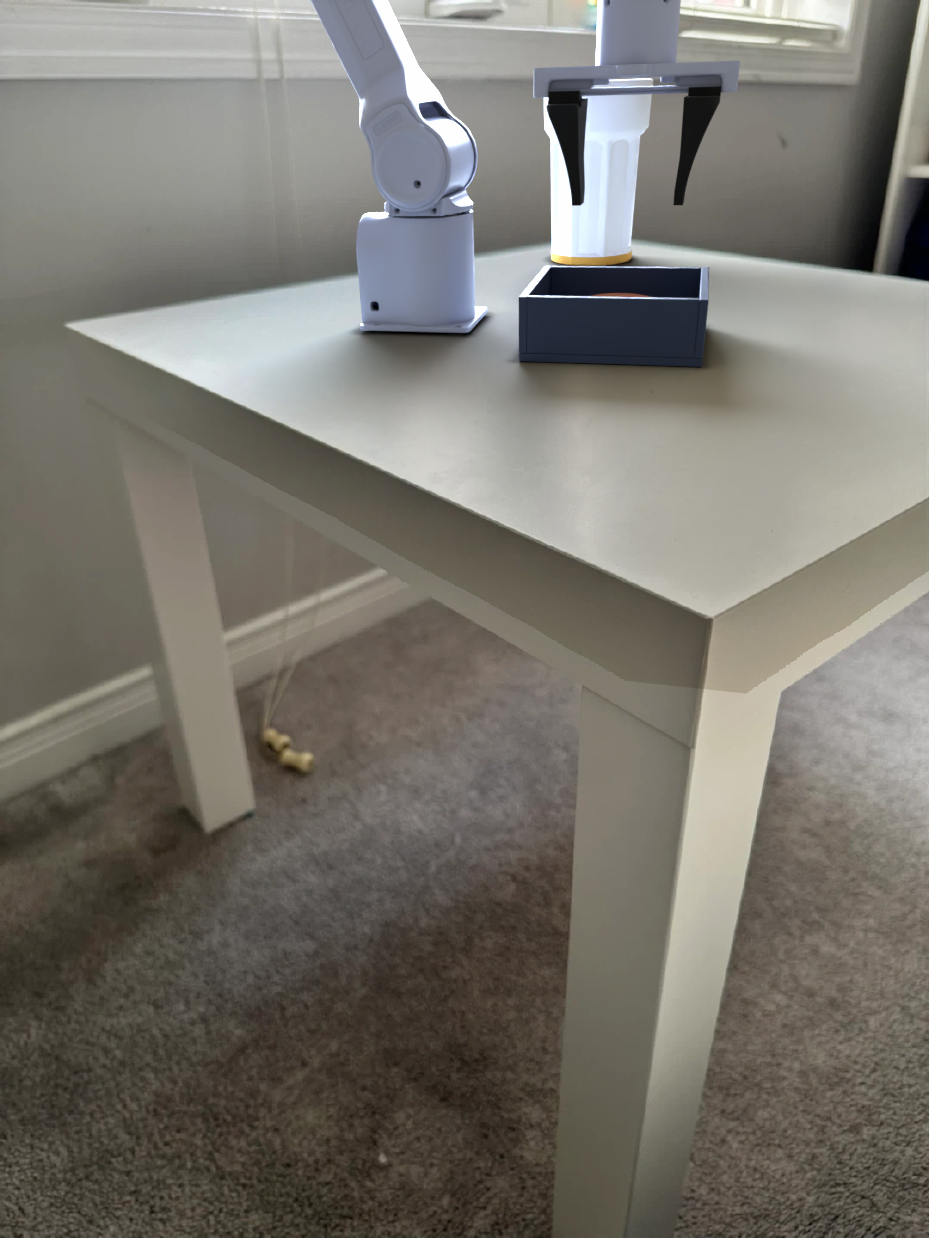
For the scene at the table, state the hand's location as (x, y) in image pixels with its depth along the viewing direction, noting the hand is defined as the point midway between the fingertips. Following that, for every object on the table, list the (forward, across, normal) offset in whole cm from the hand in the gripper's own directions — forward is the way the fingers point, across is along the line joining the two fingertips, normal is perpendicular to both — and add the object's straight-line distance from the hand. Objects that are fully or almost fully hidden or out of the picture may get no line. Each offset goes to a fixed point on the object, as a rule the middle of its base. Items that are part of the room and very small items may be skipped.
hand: (627, 204), depth 70 cm
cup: (+10, -6, +32) cm, 34 cm away
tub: (+9, 0, -5) cm, 10 cm away
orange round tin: (+9, 0, -5) cm, 10 cm away
